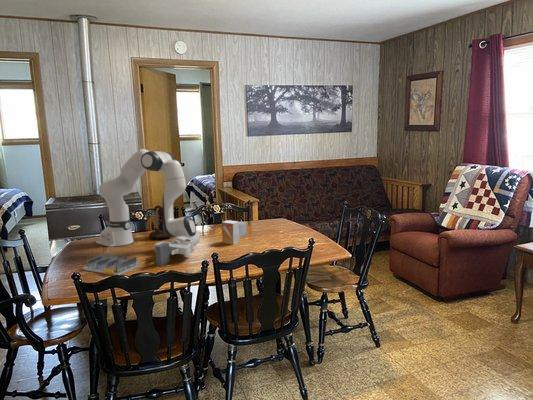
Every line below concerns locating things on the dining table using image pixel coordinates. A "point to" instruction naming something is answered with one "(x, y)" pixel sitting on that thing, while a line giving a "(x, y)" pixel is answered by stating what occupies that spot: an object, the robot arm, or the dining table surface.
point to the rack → (111, 264)
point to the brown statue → (158, 223)
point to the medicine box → (242, 229)
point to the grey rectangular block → (162, 254)
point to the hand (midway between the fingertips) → (163, 252)
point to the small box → (230, 232)
